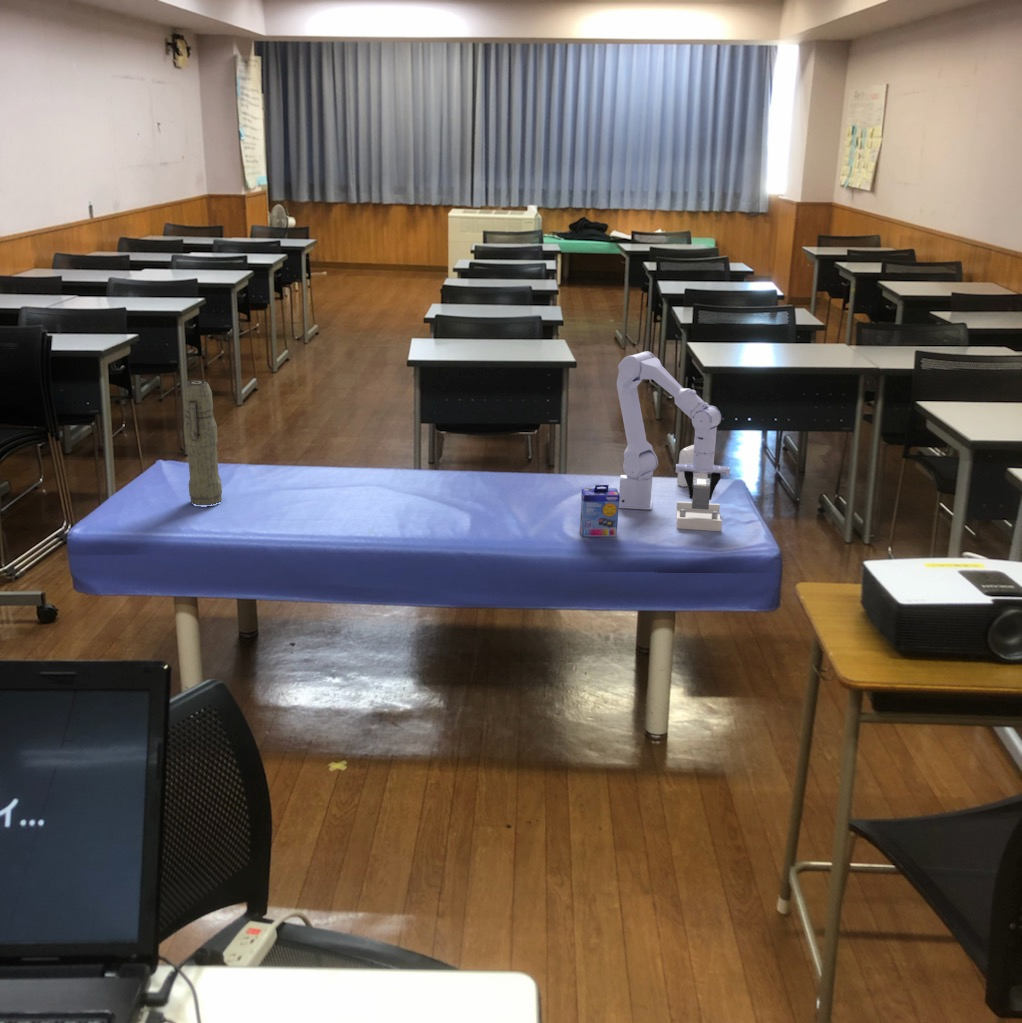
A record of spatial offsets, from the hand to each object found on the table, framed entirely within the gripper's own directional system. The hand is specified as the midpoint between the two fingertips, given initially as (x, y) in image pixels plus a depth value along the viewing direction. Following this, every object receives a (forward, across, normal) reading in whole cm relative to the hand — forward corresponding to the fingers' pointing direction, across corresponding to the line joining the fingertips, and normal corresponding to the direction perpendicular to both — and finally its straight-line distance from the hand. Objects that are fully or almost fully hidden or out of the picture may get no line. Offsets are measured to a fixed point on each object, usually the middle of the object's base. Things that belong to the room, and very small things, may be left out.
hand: (700, 498), depth 299 cm
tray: (+7, 0, 0) cm, 7 cm away
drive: (+2, 0, 0) cm, 2 cm away
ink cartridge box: (+7, -27, -15) cm, 32 cm away
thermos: (+7, -139, -11) cm, 140 cm away
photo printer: (+7, -1, +33) cm, 34 cm away
